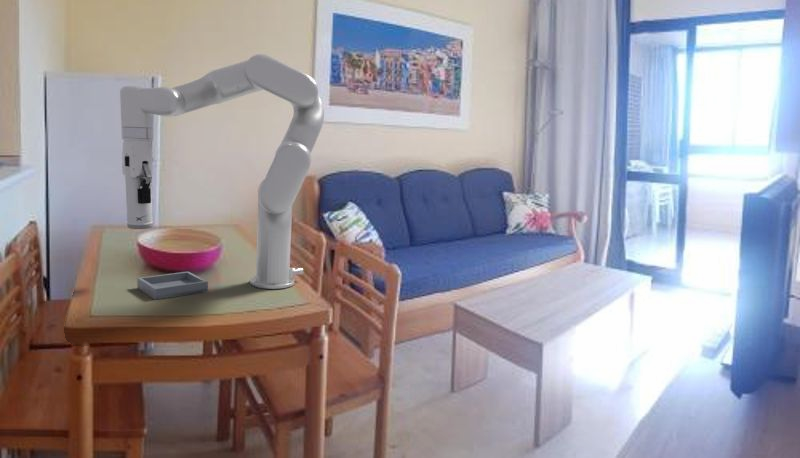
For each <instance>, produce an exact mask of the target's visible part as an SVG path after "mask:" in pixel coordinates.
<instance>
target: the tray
mask: <svg viewBox="0 0 800 458" xmlns="http://www.w3.org/2000/svg"><path fill="white" fill-rule="evenodd" d="M136 281H137V289H138V290H140V291H142V293H144V294H146V295H148V297H151V298H152V299H154V300H161V299H163V300H164V299H167V298H174V297H181V296H189V295H194V294H200V293H208V291H209V289H208V287H209V286H208V285H209V281H208V280H206V279H204V278H202V277H199V276H198V275H196V274H194V273H193V272H190V271H181V272H175V273H167V274H166V273H165V274H160V275H159V274H158V275H151V276H150V275H149V276H141V277H137V280H136Z"/></svg>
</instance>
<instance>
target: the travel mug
mask: <svg viewBox="0 0 800 458" xmlns="http://www.w3.org/2000/svg"><path fill="white" fill-rule="evenodd" d="M129 158H130V157H129V156H126V157H125V175H124V181H125V199H126V200H125V201H126V202H125V203H126V221H127V228H128V229H131V230H148V229H151V228H153V226H154V225H153V224H154V222H153V197H152V193H153V192H152V191H151V203H146V204H139V203H138V191H137V189H139V186H138V179H137V177H136V178H132V177H130V169H129V168H130V167H129ZM142 176H145V174H140V177H142ZM142 181H143V180H141V182H142Z"/></svg>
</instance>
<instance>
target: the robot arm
mask: <svg viewBox="0 0 800 458" xmlns="http://www.w3.org/2000/svg"><path fill="white" fill-rule="evenodd" d="M261 91H265V92H268V93H270V94H272V95H274V96H276V97H278V98H281V99H283V100H285V101H287V102H289V103H290V104H291V106H292V107H293V114H292V115H293V116H292V118H291V121H290V122H289V125H288V128H287V130H286V133H285V135H284V137H283V139H282V141H281V142H280V144H279V145H278V147H277V148H276V151H275V154H274V158H273V160H272V163H271V165H270V167H269V169H268V171H267V173H266V175H265V178H264V179H263V180H262V181H261V182H260V184H259V186H258V191H257V232H256V233H257V235H256V239H257V240H256V266H255V276H252V277H250V280H249V281H250V282H249V283H250V285H252V286H253V287H255V288H260V289H267V290H278V289H279V290H280V289H286V288H290V287H292V286H293V285H295V278H294V277H295V275H297V276H298V275H299V276H300V275H303V273H304V268H303V267H296V268H295V267H291V243H292V241H291V240H292V219H293V218H292V217H293V215H292V214H293V204H294V202H295V201H296V198H297V196H298V194H299V192H300V190H301V188H302V185H303V183H304V181H305V179H306V177H307V174H308V172H309V170H310V167H311V162H312V158H311V153H312V152H313V149H314V147H315V145H316V142H317V140H318V137H319V135H320V132H321V129H322V127H323V124H324V120H325V119H324V118H325V109H324V105H323V104H324V103H323V101H322V98H321V95H320V94H319V87H318V84H317V82H316V80H315V79H314V78H313V77H312V76H310V74H306V73H304V72H303V71H300V70H298V69H296V68H295V67H292V66H290V65H288V64H286V63H283V62H282V61H279V60H278V59H276V58H274V57H272V56H270V55H267V54H265V53H264V54H263V53H259V54H255V55H252V56H251V57H250V58H248V59H247V60H243V61H240V62H238V63H233V64H231V65H230V64H229V65H228V66H223V67H220V68H216V69H214V70H211V71H208V72H207V73H206V74H205V75H203V76H202V77H200V78H199V79H195V80H193V81H189V82H187V83H183V84H181V85H178V86H174V87H167V86H161V87H160V86H159V87H146V86H145V87H144V86H136V85H134V86H133V85H125V86H122V87H121V88H120V91H119V98H120V99H119V101H120V102H119V103H120V125H121V140H123V142H122V157H121V158H122V167H121V168H122V174H123V176H125V157H126V156H129V157H130V158H129V167H130V168H129V169H130V177H132V178H136V177H137V179H138V186H139V189H137V191H138V203H139V204H146V203H151V192H152V178H153V175H154V173H153V172H154V165H153V164H154V163H153V161H154V160H153V152H152V151H153V150H152V149H153V148H152V143H151V141H154V132H153V131H154V129H153V127H154V126H153V115H156V116H162V117H171V118H172V117H173V118H174V117H178V116H181V115H184V114H187V113H190V112H194V111H196V110H200V109H203V108H208V107H209V106H213V105H218V104H222V103H225V102H228V101H232V100H235V99H237V98H240V97H243V96H247V95H250V94H254V93H257V92H261ZM140 174H145V176H142V177H140ZM141 180H143V181H142V182H141Z"/></svg>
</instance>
